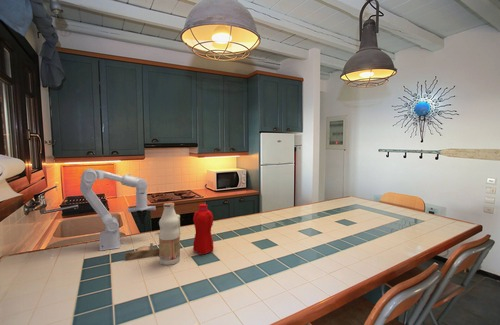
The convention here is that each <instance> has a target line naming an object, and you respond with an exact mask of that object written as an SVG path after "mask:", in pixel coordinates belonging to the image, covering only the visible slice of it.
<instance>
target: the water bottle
mask: <svg viewBox="0 0 500 325" xmlns="http://www.w3.org/2000/svg"><path fill="white" fill-rule="evenodd" d="M192 222H193V224H194V225H193V226H194V229H195V230H194V231H195V234H194V240H193V246H192V249H193V251H194V252H195V253H197V254H199V255H205V254H208V253H211V252H213V250H214V239H213V236H212V227H213V226H214V215H213V212H212V211H211V210H209V209H208V204H205V203H200V204H199V205H198V210H196V211H195V212H194V214H193V218H192Z"/></svg>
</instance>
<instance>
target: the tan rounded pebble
mask: <svg viewBox="0 0 500 325" xmlns="http://www.w3.org/2000/svg"><path fill="white" fill-rule="evenodd" d="M148 249H150V246H147V245H144V246H143V245H142V246H140V247H138V248H136V251H141V250H148Z"/></svg>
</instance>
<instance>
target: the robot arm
mask: <svg viewBox="0 0 500 325" xmlns="http://www.w3.org/2000/svg"><path fill="white" fill-rule="evenodd" d="M102 179H103V180H104V179H107V180H111V181H116V182H120V183H121V185H122V186H126V187H131V188H135V201H136V202H135V207H134V206H133V207H128V208H127V213H132V212H136V214H137V216H138V218H139V221H140V224H141V225H143V224H144V222H145V218H146V215H147V213H148V211H156V209H157V208H156V205H148V192H147V190H148V189H147V188H148V186H149V184H148V182H147V180H146V179H144V178H142V177H139V176H137V177H136V176H132V175H131V174H123V175H121V174H120V175H119V174H116V173H112V172H108V171H105V170H103V169H102V170H100V169H94V168H87V169H84V170H83V172H82V174H81V177H80V185H79V191H80V193H81V195H82V196H83V197H84V199H86V201H87V202H88V203H89V204H90V206H91V208H92V209H93V210H94V211H95V212H96V214H97V215H98V216H99V218H100V219H101V221H102V223H103V224H104V225H105V227H104V230H103V231H100V232H99V236H98V237H99V251H108V250H115V249H120V248H121V245H122V242H121V240H120V238H121V237H120V224H119V222H118V218H117V217H116V216H113V215H112V214H111V213H110V212H109V211H108V210H109V209H107V207H106V206H105V205H104V204H103V202H102V201H101V200H100V198H99V197H98V196H97V194H96V193H95V191H94V190H93V185H94V183H95V181H97V180H98V181H100V180H102Z"/></svg>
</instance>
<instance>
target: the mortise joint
mask: <svg viewBox="0 0 500 325" xmlns="http://www.w3.org/2000/svg"><path fill="white" fill-rule="evenodd" d="M149 247H150V249H148V250H141V251H137V250H134V251H127V252H124V258H125V259H124V260H125V261H131V260H132V261H133V260H139V259H140V260H141V259H146V258H154V257H159V247H157V248H154V243H150V244H149Z"/></svg>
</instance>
